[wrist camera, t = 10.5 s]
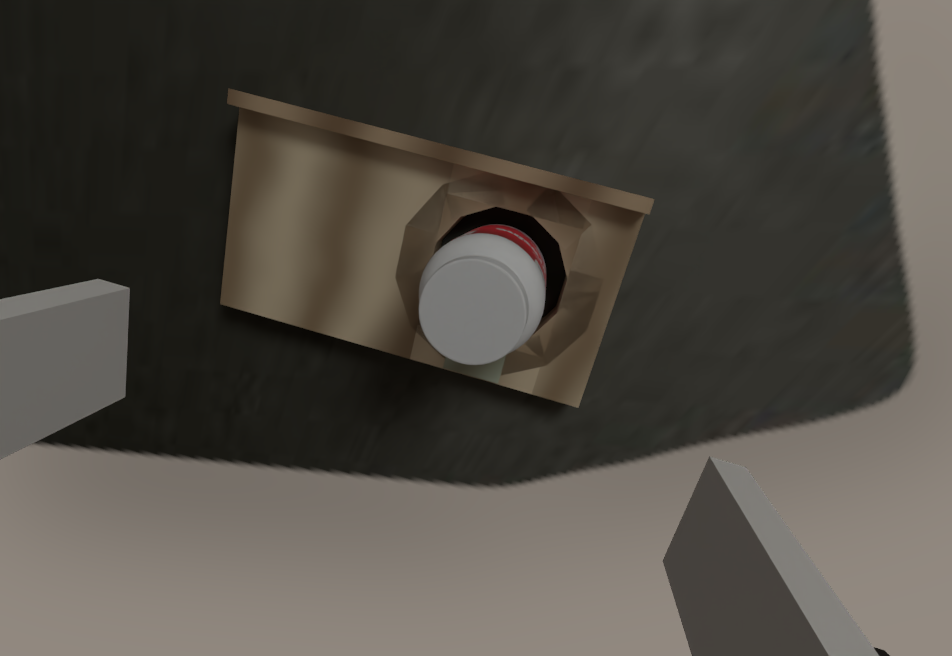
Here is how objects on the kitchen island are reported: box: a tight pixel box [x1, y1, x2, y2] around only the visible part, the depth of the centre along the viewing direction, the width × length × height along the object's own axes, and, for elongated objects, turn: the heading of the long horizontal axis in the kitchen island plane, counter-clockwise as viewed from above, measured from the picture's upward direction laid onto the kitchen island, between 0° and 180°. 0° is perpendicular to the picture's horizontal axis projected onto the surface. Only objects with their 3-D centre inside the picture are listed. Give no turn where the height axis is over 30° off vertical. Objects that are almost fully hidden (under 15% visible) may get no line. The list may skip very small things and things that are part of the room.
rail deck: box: [220, 89, 654, 408], centre depth 31 cm, size 24×13×3 cm, turn 76°
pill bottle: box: [419, 224, 546, 365], centre depth 27 cm, size 6×6×11 cm
